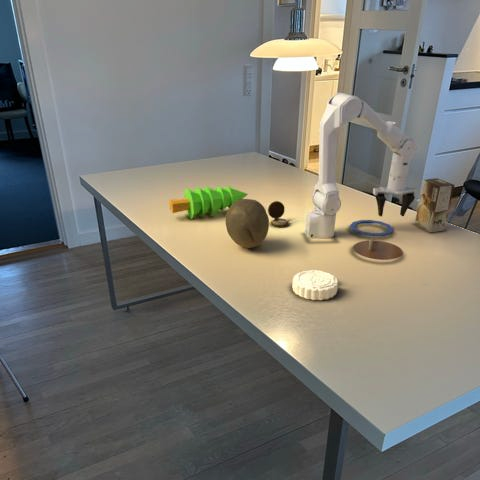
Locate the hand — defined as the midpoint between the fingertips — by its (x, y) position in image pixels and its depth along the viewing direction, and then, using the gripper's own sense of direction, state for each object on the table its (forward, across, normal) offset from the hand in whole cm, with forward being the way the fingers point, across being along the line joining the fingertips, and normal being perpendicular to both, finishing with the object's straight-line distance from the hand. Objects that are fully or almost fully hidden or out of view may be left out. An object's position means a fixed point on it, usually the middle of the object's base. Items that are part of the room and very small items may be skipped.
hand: (391, 215), depth 166 cm
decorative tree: (+6, -61, +19) cm, 64 cm away
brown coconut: (+6, -50, -11) cm, 52 cm away
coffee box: (+6, +16, +3) cm, 17 cm away
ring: (+6, -6, 0) cm, 8 cm away
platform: (+6, -10, -18) cm, 22 cm away
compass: (+6, -36, +9) cm, 38 cm away
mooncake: (+6, -34, -42) cm, 55 cm away
